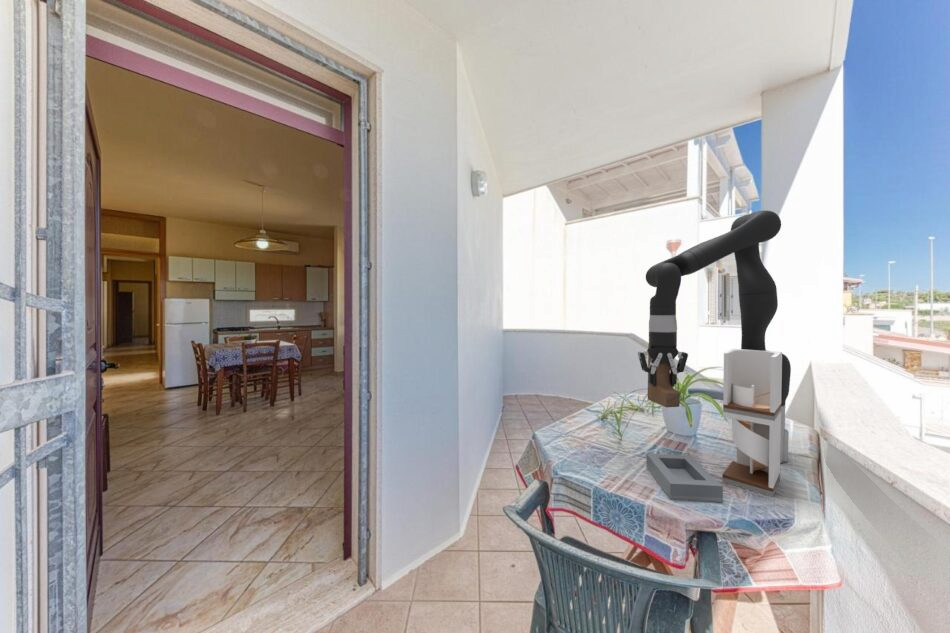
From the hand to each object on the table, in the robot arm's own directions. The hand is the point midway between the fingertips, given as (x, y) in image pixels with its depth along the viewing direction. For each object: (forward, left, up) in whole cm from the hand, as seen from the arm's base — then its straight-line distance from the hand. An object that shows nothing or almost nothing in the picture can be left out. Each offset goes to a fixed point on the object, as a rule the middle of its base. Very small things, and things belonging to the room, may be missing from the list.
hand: (662, 385), depth 109 cm
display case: (-19, +10, -24) cm, 32 cm away
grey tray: (0, +13, -23) cm, 27 cm away
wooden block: (0, 0, -6) cm, 6 cm away
